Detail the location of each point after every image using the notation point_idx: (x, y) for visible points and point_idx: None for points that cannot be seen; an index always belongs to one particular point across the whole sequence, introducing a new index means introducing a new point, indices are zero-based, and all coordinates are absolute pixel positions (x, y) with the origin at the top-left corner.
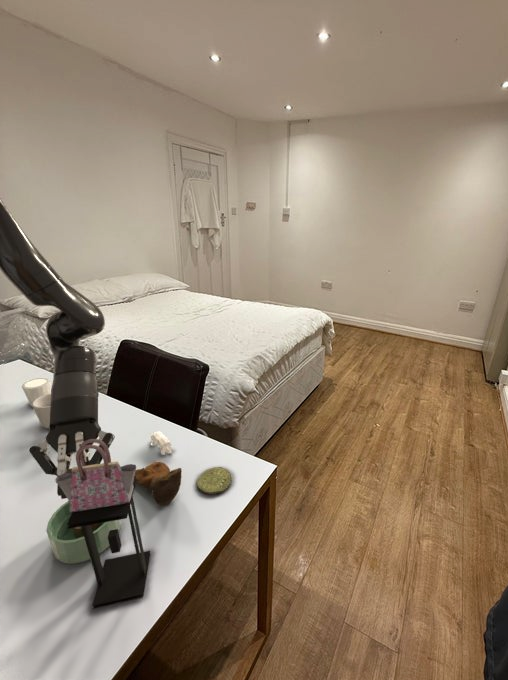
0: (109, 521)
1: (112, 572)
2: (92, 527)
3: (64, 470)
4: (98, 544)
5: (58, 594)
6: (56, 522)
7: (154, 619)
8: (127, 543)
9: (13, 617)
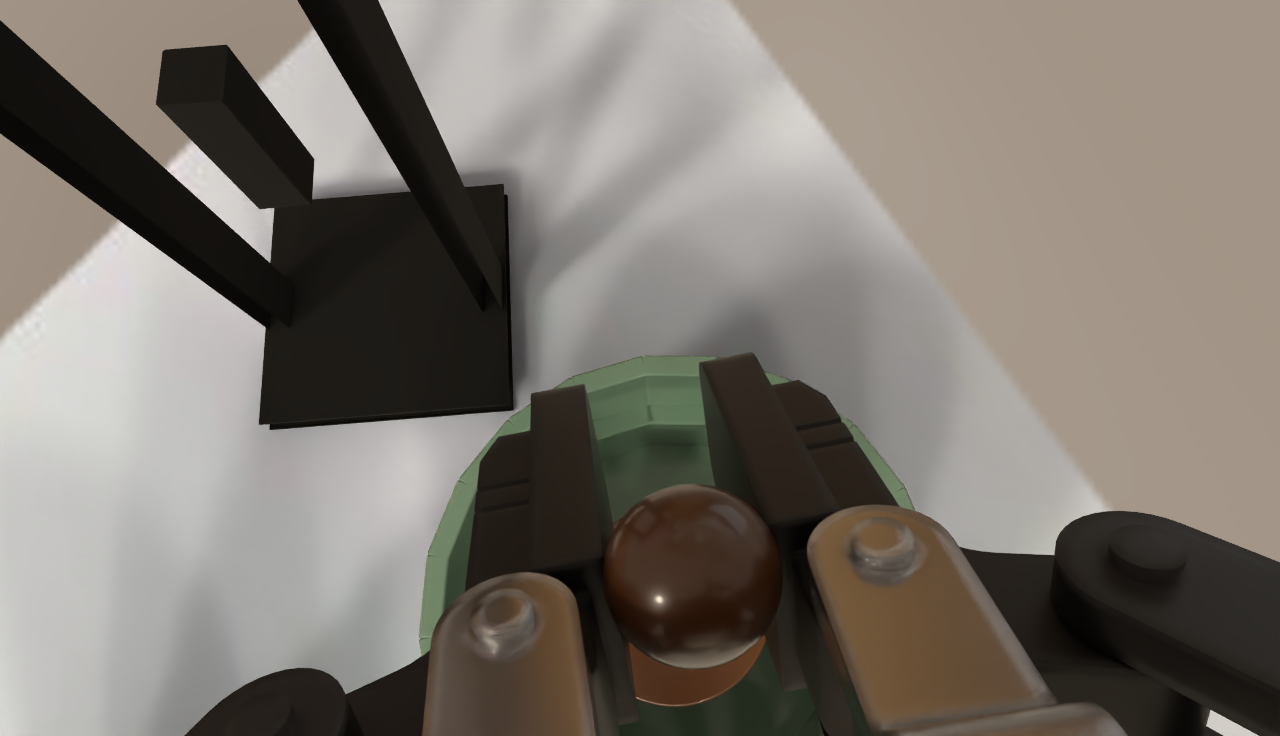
0: (449, 511)
1: (447, 325)
2: None
3: (823, 570)
4: None
5: (698, 279)
6: None
7: None
8: (417, 518)
9: (854, 209)
